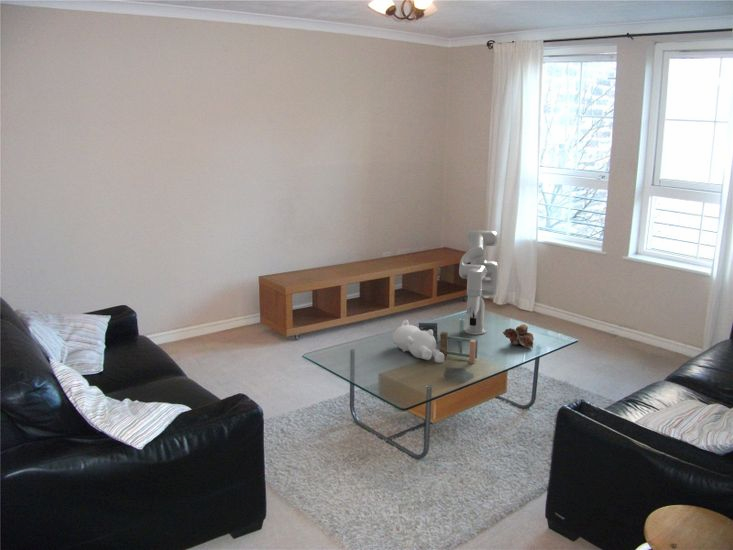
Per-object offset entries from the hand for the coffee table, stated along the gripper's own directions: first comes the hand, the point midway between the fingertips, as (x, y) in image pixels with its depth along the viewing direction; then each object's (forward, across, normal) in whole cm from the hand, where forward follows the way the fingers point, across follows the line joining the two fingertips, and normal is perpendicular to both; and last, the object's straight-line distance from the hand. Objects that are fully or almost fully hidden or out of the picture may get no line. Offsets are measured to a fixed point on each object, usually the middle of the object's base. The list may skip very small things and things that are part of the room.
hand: (472, 325), depth 350 cm
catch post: (+17, +10, +2) cm, 20 cm away
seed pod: (+18, -24, +23) cm, 37 cm away
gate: (+16, +7, -5) cm, 18 cm away
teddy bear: (+17, +10, -28) cm, 34 cm away
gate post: (+17, +10, -13) cm, 23 cm away
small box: (+18, -11, -27) cm, 34 cm away
